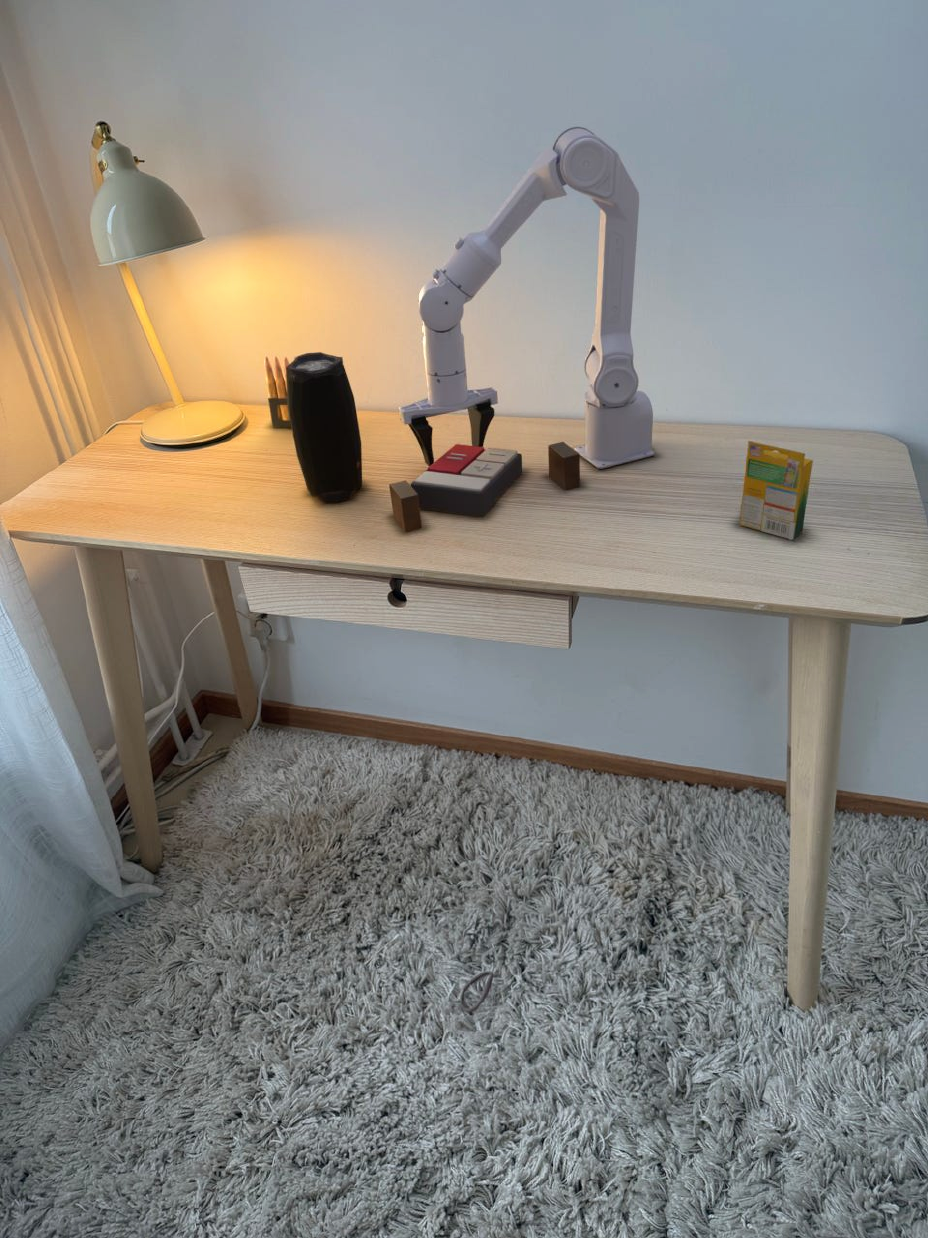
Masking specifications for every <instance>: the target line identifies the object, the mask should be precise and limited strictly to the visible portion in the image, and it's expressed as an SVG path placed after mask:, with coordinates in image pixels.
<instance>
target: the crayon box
mask: <svg viewBox="0 0 928 1238" xmlns="http://www.w3.org/2000/svg"><path fill="white" fill-rule="evenodd" d="M805 457H806V453H805V452H801V451H796V450H791V449H787V448H782V447H778V446H774V445H771V444H770V445H769V444H765V443H760V442H755V441H751V440H748V443H747V455H746V458H745V459H746V460H745V470H744V478H743V486H742V495H741V505H740V513H739V521H738V524H739V526H740V527H744V528H749V529H753V530H756V531H759V532H764V533H768V534H770V535H773V536H778V537H781V538H785V539H788V540H790V541H793V540H794V539H796V537H798V536H799V535H800V534H801V533H803V531H804V523H805V517H806V509H807V502H808V497H809V491H810V490H809V489H810V483H811V476H812V468H813V461H814V460H813V459H810V458H805Z"/></svg>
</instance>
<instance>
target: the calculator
mask: <svg viewBox="0 0 928 1238" xmlns="http://www.w3.org/2000/svg"><path fill="white" fill-rule="evenodd" d="M522 474H523V455H522V453H519V451H518V450H515V449H514V450H513V449H504V448H496V447H487V448H486V449H485V447H484V446H483V447H478V446H472V445H469V444H460V443H456V444H454V445H453V446H452V447H451V448H449V449H448V450H447V451H446V452H445V453H444V454H442V455H441V456H440V457H438V458H437V459H436V460H434V463H433V464H432V465H431V466H428V467H427V469H426V470H425V471H423V472H422V473H421V474H420V475H419V476H418V477H416V478H415V479H414V480H413V481H412V482H410V486H411V487H412V488H413V489H414V490H415V492H416V493H417V494H418V498H419V507H420V509H423V510H429V511H436V512H444V513H451V514H458V515H464V516H472V517H479V518H483V517H485V516H486V515H487V514H488V513H489V512H490V511H491V510H492V509H493V508H494V506H495V503H496V501H497V500H498V499H499V497H500V496H501V495H502V494H503V493H504V492H505V491H506V490H507V489H508V488H509V487H510V486H511V485H512V484H513V483H514V482H515V481H516V480H517V479H518V478H519V477H520V476H521V475H522Z"/></svg>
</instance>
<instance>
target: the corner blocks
mask: <svg viewBox="0 0 928 1238" xmlns="http://www.w3.org/2000/svg"><path fill="white" fill-rule="evenodd" d="M547 453H548V456H547V457H548V478H550V480H552V481H553V482H554V483H556V484H557V485H558V487H560V488H562V489H563V490H564V491H567V490H571V489H574V488H575V489H576V488H578V487H580V486H581V478H580V477H581V475H580V474H581V463H580V462H581V455H580V454H579V453H578V452H576V451H575V450H574V448H572V447H571V446H570V445H568V444H567V443H565V441H559V442H556V443H551V444H548V445H547ZM388 486H389V494H390V499H391V500H390V502H391V509H392V516H393V518H394V520H395V521H396V522H397V523H398V525H399V526H400V527H401V528H402V530H403V531H404V532H405V533H407V532H410V531H414V530H418V529H422V528H423V525H422V518H421V517H422V516H421V508H420V507H419V498H418V494H417V493H416V492H415V490H414V489H413V488H412V487H411V484H410V483H409V482H407V480H406V479H404V480H401V481H398V482H393V483H389V484H388Z"/></svg>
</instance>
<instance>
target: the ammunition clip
mask: <svg viewBox="0 0 928 1238" xmlns="http://www.w3.org/2000/svg"><path fill="white" fill-rule="evenodd" d="M296 357H297V356H294V357H293V360H292V361H294V359H295V358H296ZM263 362H264V363H263V364H264V372H265V383H266V389H267V395H268V398H267V400H268V407H269V413H270V420H271V421H270V422H271V426H272V427H273V428H291V423H290V418H289V413H288V407H287V381H286V367H287V366H288V365H289V364H290V361H289V358H288V357H287V356H284V357H283V370H282V366H281V363H280V360H279V359H278V357H277V356H274V357H273V368H272V364H271V362H270V360H269V358H268V356H266V355H265V356H264V361H263ZM273 369H274V371H273ZM283 372H284V374H283Z"/></svg>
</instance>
